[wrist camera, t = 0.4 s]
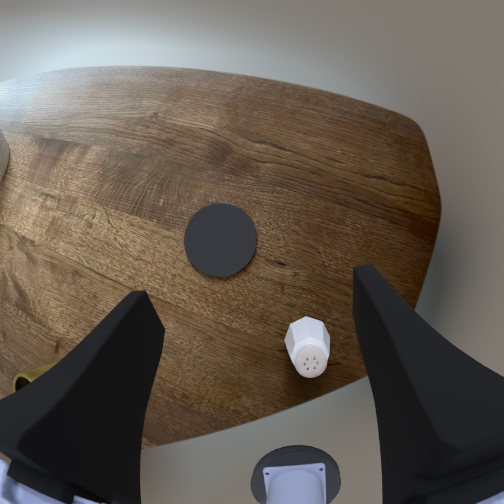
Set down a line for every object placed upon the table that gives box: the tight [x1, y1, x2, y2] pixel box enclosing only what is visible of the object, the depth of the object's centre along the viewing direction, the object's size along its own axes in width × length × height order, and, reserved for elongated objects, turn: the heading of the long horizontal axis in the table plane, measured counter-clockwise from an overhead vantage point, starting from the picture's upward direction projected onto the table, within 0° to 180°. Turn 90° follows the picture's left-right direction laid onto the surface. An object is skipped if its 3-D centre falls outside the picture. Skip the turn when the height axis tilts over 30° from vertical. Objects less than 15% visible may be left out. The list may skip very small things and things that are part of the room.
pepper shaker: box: [284, 316, 330, 378], centre depth 32 cm, size 5×5×11 cm
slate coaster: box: [184, 203, 257, 277], centre depth 39 cm, size 9×9×1 cm
